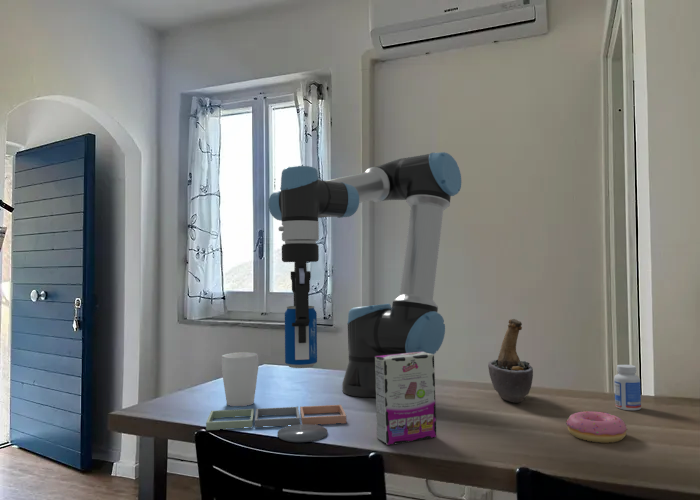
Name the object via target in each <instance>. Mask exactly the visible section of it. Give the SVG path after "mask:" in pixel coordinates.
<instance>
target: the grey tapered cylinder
mask: <svg viewBox="0 0 700 500" xmlns="http://www.w3.org/2000/svg"><path fill="white" fill-rule="evenodd" d="M258 354H259V353H256V352H253V351H251V352H250V351H249V352H247V351H243V352H241V351H239V352H238V351H237V352H230V353H225V354H222V355H221V373H222V380H223V388H224V394H225V401H226V405H227V406H229V405H230V406H229V407H234V406H241V407H248V406H250V405H252V404H254V403H255V397H256V396H255V395H256V390H257V380H258V374H259V357H258V356H259V355H258ZM247 405H248V406H247Z"/></svg>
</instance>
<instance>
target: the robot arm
mask: <svg viewBox="0 0 700 500" xmlns="http://www.w3.org/2000/svg"><path fill="white" fill-rule="evenodd" d="M318 175H319V173H318V169H317V168H316V167H313V166H309V165H293V166H288V167H285V168H284V169H282V171H281V177H280V186H279V187H280V188H279V189H276V190H274V191H273V192H272V193H271V194H270V195H269V198H268V210H269V212H270V215H271V216H272V218H274V219H275V220H277V221H281V225H282V226H281V225H280V226H279V227H278V232H282V233H281V241H282V242H284V243H283V244H282V245H281V261H282V262H283V263H294V271H292V270H291V271H290V280H291V292H292V293H293V306H295V313H296V320H295V323H292V327H294V326H295V360H305V359H309V326H308V325H309V322H310V319H309V306H310V304H309V301H310V300H309V299H310V298H309V293H310V292H311V291H310V290H311V285H310V281H311V277H312V276H311V274H312V273H311V271H310V270H308V269H307V268H308V264H307V263H317V262H318V261H319V259H320V257H319V256H320V255H319V252H320V251H319V244H318V243H317V242H318V241H319V240H320V239H319V238H320V235H319V233H320V228H319V227H320V226H319V219H320V218H333V217H335V218H339V219H340V218H349V217H352V216H354V214H355V213H356V212H357V211H358V209H359V206H360V204H363V203H365V202H369V201H371V202H374V203H379V202H384V201H406V203H407V204H408V206H409V207H410V210H409V211H410V212H409V217H408V218H409V219H408V228H407V235H406V243H405V249H404V250H405V251H404V258H403V267H402V272H401V273H402V274H401V280H400V281H401V283H400V291H399V295H398V296H397V297H396V298H394V299H393V300H392V306H391V304H390V303H383V304H382V303H381V304H373V305H365V306H355V307H352V308H350V310H349V311H348V315H347V316H348V317H347V346H348V349H347V351H348V361H347V362H348V364H347V367H346V370H345V373H344V376H343V379H342V385H341V387H342V389H341V390H342V393H343V394H345V395H349V396H351V397H352V396H353V397H362V398H376V380H375V356H383V355H393V354H403V353H413V352H427V353H430V354H434V355H435V354H436V353H437V352H438V351H439V350H440V348H441V347H442V344H443V342H444V339H445V333H446V325H445V323H444V322H445V320H444V317H443V315H442V314H440V313H439V312H438V311H439V310H438V309H439V307H438V305H437V304H436V302H435V300H434V295H435V294H434V293H435V292H434V291H435V286H436V285H435V284H436V277H437V275H436V274H437V268H438V267H437V266H438V259H439V257H438V256H439V251H440V250H439V249H440V241H441V234H442V232H441V231H442V224H443V223H442V222H443V216H444V211H445V210H446V209H448V207H450V205H451V197H455V196H456V195H458V194H459V192H460V191H461V188H462V173H461V169H460V167H459V165H458V162H457V161H456V159H455V158H454V156H453V155H451V154H450V153H448V152H445V151H444V152H443V151H442V152H441V151H440V152H431V153H427V154H421V155H415V156H409V157H403V158H398V159H395V160H391V161H387V162H386V163H383V164H380V165H378V166H372V167H368V168H367V169H366V170H365V171H364V172H361V173H357V174H352V175H347V176H342V177H337V178H333V179H327V180H321V179H319V176H318Z"/></svg>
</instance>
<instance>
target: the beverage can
mask: <svg viewBox="0 0 700 500" xmlns="http://www.w3.org/2000/svg"><path fill="white" fill-rule="evenodd" d="M317 315H318V314H317V311H316V309H315V306H314V305H309V319H310V322H309V325H308V326H309V359H305V360H295V326H294V327H292V323H295V320H296V313H295V306H294V305H290V306H289V305H288V306H286V310H285V312H284V364H286V365H288V367H289V368H291V369H292V368H293V369H307V368H312V367H314V366H315V364H317V363H318V327H317V326H318V325H317V323H318V322H317V321H318V319H317Z"/></svg>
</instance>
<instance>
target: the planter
mask: <svg viewBox="0 0 700 500" xmlns="http://www.w3.org/2000/svg"><path fill="white" fill-rule="evenodd" d="M522 325H523V323H522V321H520V320H518V319H516V318H513V319H512V318H511V319H508V325H507V329H506V331H505V334H504V337H503V339H502V343H501V346H500V351H499V353H498V357H497V359H494V360H491V361H489V362H488V375H489V377H490V380H491V383H492V386H493V389H494V391H496V392H497V393H498V395H499V397H500V398H502V400H504V401H506V402H508V403H515V404H519V403H521V402H523V401H524V400H525V399H526V397H527V396H528V395H529V393H530V391H531V389H532V383H533V377H534V371H533V370H534V368H533V367H532V366H531V365H530V362H528V361H526V360H524V361H522V360H520V357H519V355H518V353H517V342H518V337H519V334H520V331H521V330H522V329H523V326H522Z"/></svg>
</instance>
